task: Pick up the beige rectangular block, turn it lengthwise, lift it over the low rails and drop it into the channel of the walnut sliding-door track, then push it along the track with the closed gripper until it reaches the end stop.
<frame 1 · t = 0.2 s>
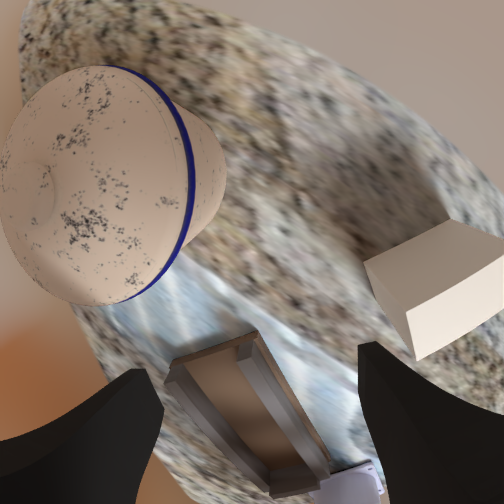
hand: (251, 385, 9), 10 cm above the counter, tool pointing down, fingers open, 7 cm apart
door track: (261, 417, 22), on the counter
beige rectangular block: (415, 259, 18), on the counter
teacup with lid: (139, 183, 18), on the counter
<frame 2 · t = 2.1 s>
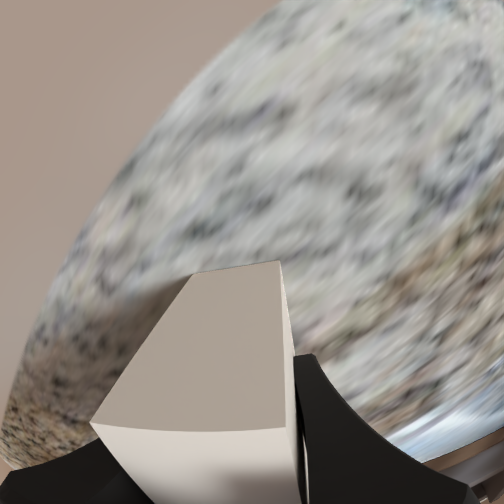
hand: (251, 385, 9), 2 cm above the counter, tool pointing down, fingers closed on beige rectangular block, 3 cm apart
door track: (404, 488, 14), on the counter
beige rectangular block: (254, 353, 11), on the counter, touching gripper
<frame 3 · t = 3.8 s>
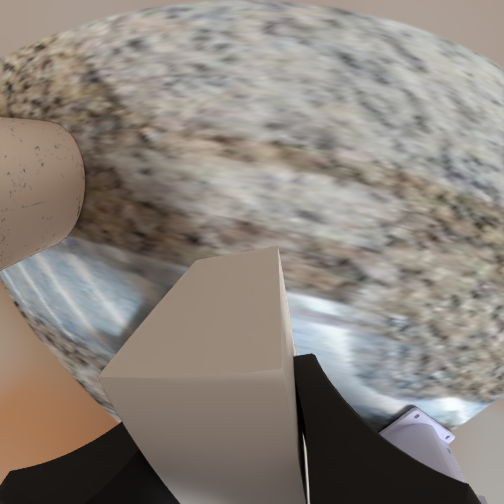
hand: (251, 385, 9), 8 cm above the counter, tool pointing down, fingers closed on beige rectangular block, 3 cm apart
beige rectangular block: (254, 338, 12), point 6 cm above the counter, touching gripper
teacup with lid: (33, 198, 17), on the counter
when the fingers open (4 cm above the counter, at t = 5.4 s): beige rectangular block stays where it is, resting on door track.
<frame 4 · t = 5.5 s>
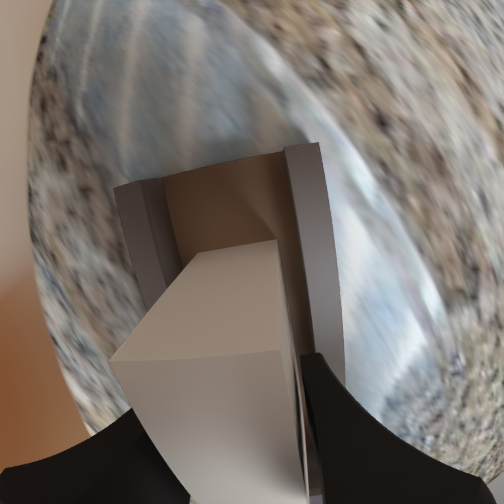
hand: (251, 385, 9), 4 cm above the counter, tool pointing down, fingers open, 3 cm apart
door track: (261, 344, 13), on the counter
beige rectangular block: (254, 328, 12), point 1 cm above the counter, touching door track
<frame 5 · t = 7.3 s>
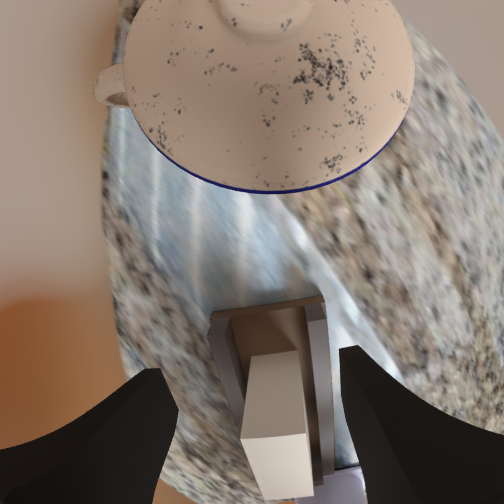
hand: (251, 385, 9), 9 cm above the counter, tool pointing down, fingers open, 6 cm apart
door track: (284, 397, 21), on the counter
beige rectangular block: (282, 392, 19), point 1 cm above the counter, touching door track
teacup with lid: (245, 104, 16), on the counter
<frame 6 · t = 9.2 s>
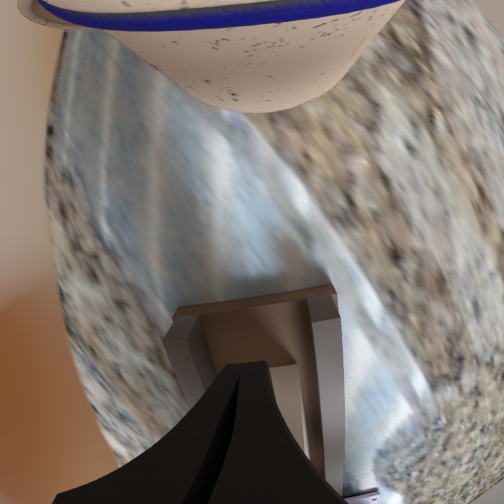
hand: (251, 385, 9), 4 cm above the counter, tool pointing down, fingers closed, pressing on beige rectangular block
door track: (279, 420, 15), on the counter
beige rectangular block: (275, 418, 14), point 1 cm above the counter, touching gripper
teacup with lid: (223, 27, 10), on the counter
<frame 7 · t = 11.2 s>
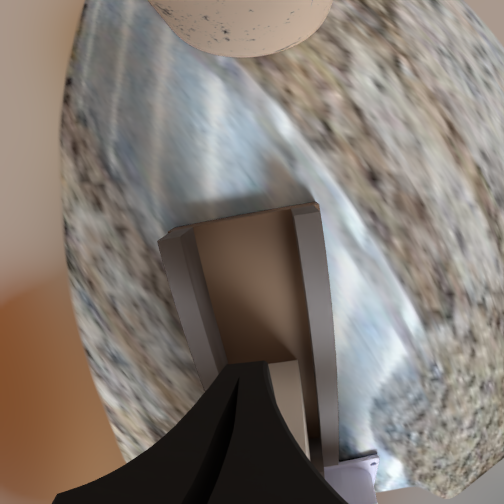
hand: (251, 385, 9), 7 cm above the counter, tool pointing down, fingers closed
door track: (271, 355, 16), on the counter
beige rectangular block: (279, 407, 16), point 1 cm above the counter, touching door track
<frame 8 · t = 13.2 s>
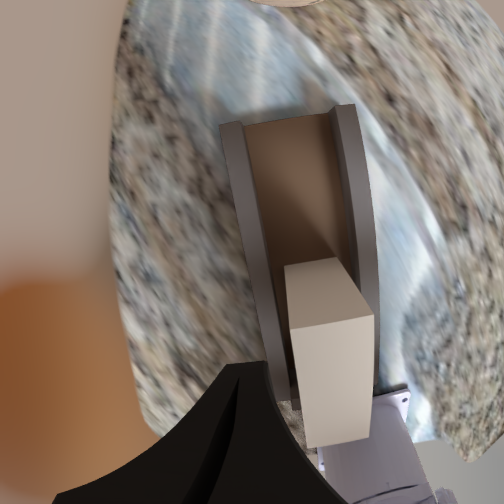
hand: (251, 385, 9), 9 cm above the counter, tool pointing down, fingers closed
door track: (309, 258, 18), on the counter
beige rectangular block: (317, 316, 17), point 1 cm above the counter, touching door track
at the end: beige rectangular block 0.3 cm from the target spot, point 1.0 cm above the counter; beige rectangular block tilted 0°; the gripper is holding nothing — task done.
